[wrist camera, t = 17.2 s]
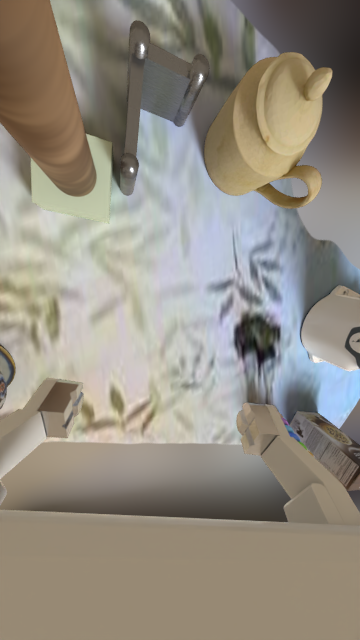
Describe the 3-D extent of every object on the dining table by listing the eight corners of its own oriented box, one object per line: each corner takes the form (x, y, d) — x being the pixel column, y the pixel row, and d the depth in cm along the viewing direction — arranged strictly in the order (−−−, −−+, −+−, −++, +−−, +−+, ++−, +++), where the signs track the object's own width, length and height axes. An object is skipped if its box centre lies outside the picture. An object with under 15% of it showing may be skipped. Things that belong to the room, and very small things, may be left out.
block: (113, 158, 26) (112, 142, 23) (109, 223, 28) (107, 218, 25) (43, 136, 24) (29, 114, 20) (44, 209, 26) (31, 201, 22)
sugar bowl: (293, 156, 33) (417, 84, 19) (262, 221, 35) (356, 198, 21) (223, 89, 28) (326, -77, 14) (190, 171, 29) (254, 95, 16)
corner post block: (185, 113, 27) (210, 59, 20) (173, 207, 30) (190, 191, 23) (127, 87, 25) (130, 16, 17) (119, 193, 28) (120, 170, 20)
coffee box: (318, 412, 57) (389, 466, 42) (308, 430, 58) (373, 489, 43) (296, 409, 53) (364, 468, 39) (286, 429, 55) (348, 493, 40)
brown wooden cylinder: (97, 153, 22) (35, -141, 6) (95, 201, 24) (39, 70, 7) (46, 137, 21) (-228, -318, 4) (47, 190, 22) (-165, -11, 6)
